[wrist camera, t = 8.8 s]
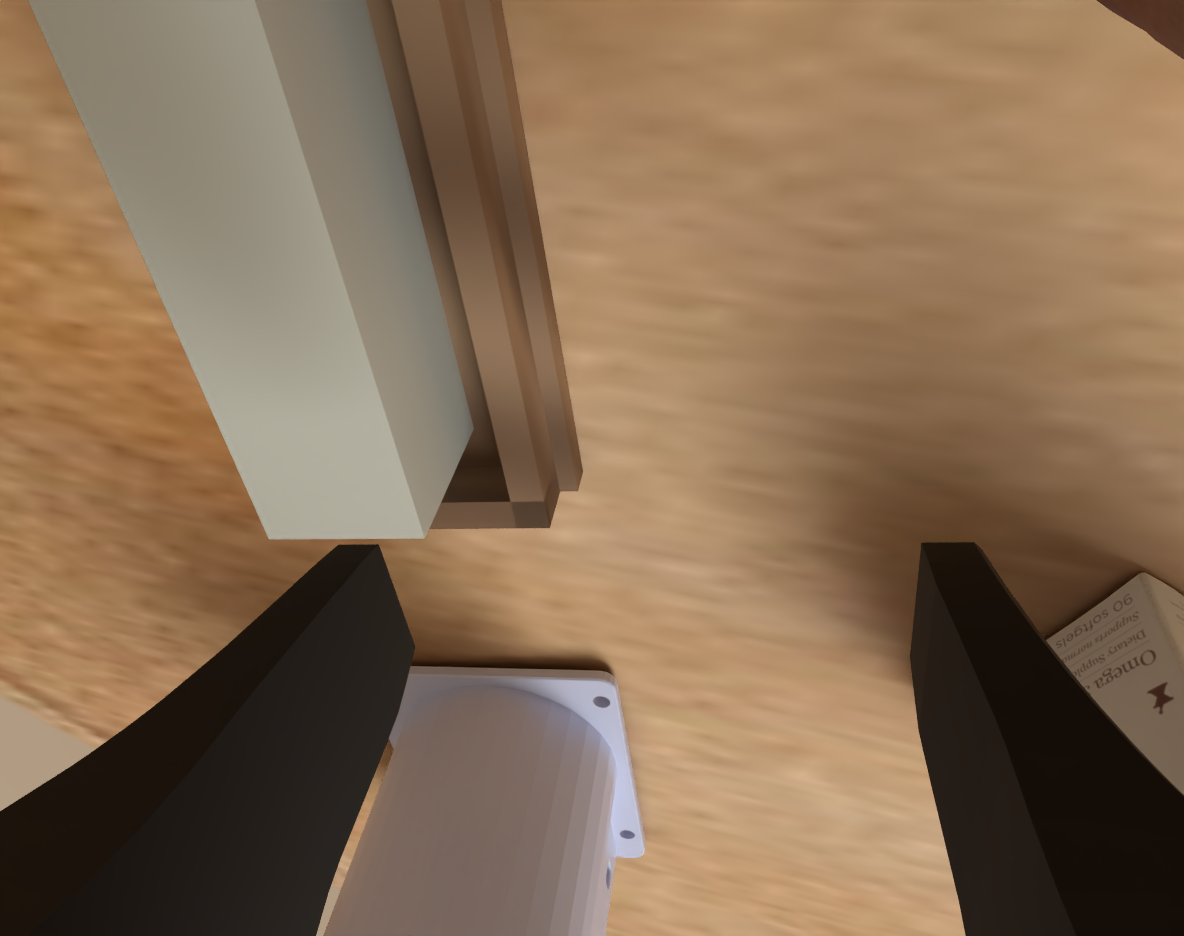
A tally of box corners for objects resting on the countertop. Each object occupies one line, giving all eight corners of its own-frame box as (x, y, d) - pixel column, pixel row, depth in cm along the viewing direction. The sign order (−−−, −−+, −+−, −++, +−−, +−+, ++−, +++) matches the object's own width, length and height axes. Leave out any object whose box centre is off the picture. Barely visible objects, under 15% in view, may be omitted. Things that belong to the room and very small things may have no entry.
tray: (582, 471, 23) (568, 527, 21) (293, 477, 25) (258, 530, 23) (441, -341, 14) (396, -359, 12) (-1, -250, 16) (-97, -254, 14)
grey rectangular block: (473, 428, 22) (425, 539, 19) (338, 433, 22) (268, 539, 19) (319, -183, 15) (199, -175, 12) (130, -150, 16) (-32, -133, 12)
